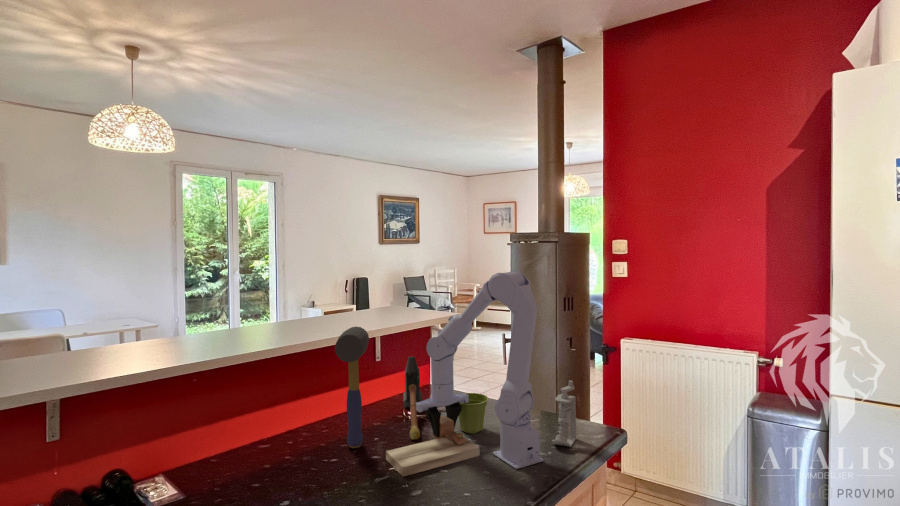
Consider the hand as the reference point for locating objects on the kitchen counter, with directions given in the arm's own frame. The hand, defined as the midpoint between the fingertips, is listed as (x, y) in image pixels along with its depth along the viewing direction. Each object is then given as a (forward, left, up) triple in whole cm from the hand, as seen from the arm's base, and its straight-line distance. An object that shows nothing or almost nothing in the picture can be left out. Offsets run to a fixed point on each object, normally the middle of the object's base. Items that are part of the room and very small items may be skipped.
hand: (443, 434), depth 126 cm
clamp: (-17, -25, -2) cm, 31 cm away
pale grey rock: (+24, -11, -2) cm, 26 cm away
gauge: (-4, 0, -1) cm, 4 cm away
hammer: (+18, 0, -2) cm, 19 cm away
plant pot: (+3, -10, -2) cm, 11 cm away
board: (-7, +7, -2) cm, 10 cm away
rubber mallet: (+9, +21, -2) cm, 23 cm away
